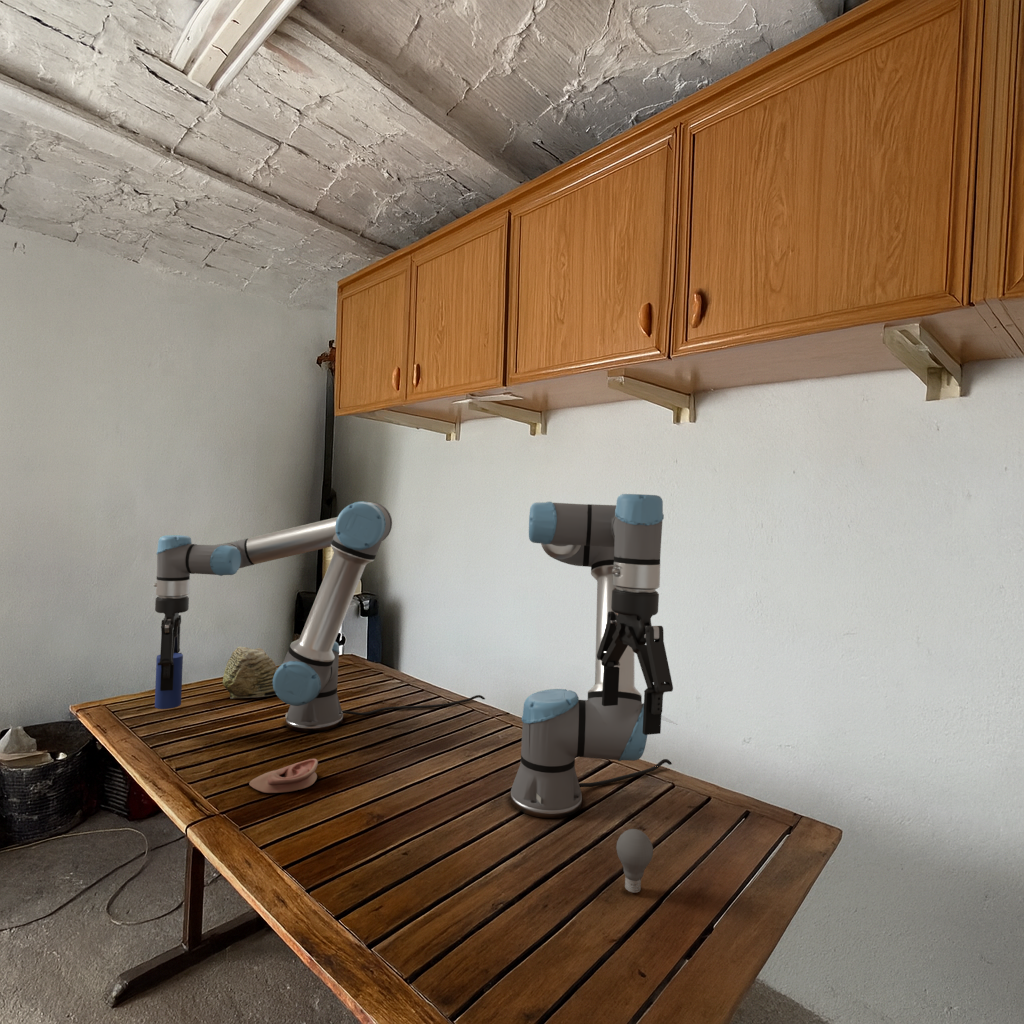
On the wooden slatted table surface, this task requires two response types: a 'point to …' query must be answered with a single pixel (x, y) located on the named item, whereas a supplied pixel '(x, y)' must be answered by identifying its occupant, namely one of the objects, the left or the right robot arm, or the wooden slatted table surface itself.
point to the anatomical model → (287, 778)
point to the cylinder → (173, 696)
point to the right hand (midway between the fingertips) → (629, 718)
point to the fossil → (249, 673)
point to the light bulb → (634, 857)
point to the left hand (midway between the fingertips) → (169, 686)
